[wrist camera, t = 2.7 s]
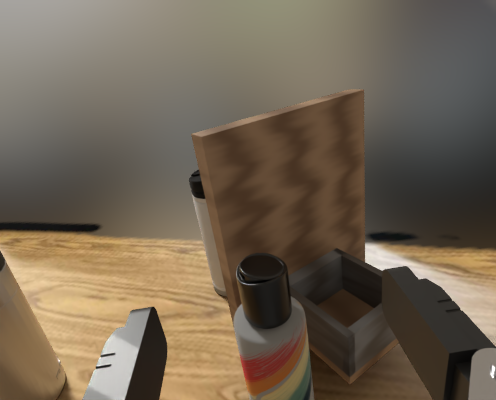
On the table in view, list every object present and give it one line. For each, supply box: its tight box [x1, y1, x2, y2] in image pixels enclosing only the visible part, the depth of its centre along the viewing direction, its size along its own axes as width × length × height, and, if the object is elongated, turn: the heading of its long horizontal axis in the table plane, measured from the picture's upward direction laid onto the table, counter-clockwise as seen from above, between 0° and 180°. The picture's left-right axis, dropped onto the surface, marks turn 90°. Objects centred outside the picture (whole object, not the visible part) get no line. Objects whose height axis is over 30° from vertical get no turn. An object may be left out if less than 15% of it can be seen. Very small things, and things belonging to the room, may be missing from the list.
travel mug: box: [189, 170, 227, 296], centre depth 50 cm, size 6×7×20 cm
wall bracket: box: [191, 89, 399, 384], centre depth 35 cm, size 20×12×28 cm, turn 124°
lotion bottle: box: [234, 253, 314, 400], centre depth 28 cm, size 6×6×20 cm
